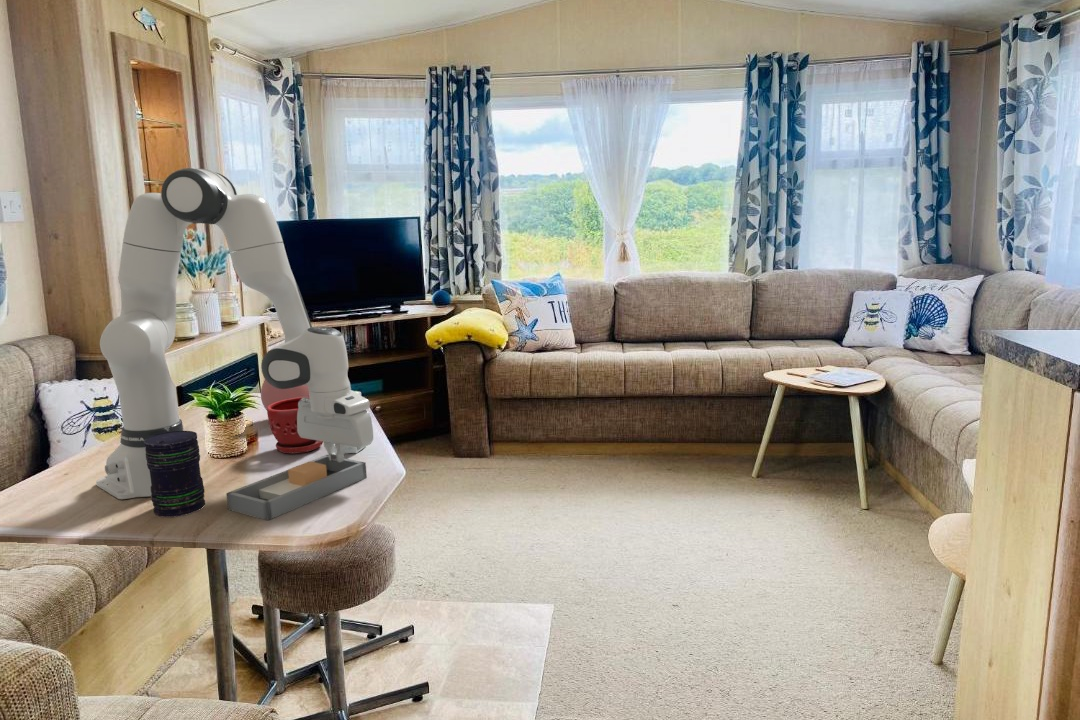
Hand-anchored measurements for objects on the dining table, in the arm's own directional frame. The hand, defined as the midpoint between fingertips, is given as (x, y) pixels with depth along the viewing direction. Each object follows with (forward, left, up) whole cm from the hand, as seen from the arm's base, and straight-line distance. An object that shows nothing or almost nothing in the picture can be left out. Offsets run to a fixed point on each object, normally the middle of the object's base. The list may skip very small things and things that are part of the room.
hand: (337, 460), depth 175 cm
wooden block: (0, -8, -2) cm, 9 cm away
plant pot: (-25, +11, -4) cm, 28 cm away
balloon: (-47, +31, -4) cm, 56 cm away
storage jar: (-16, -28, -4) cm, 33 cm away
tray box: (0, -11, -4) cm, 11 cm away
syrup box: (-12, +16, -4) cm, 20 cm away
